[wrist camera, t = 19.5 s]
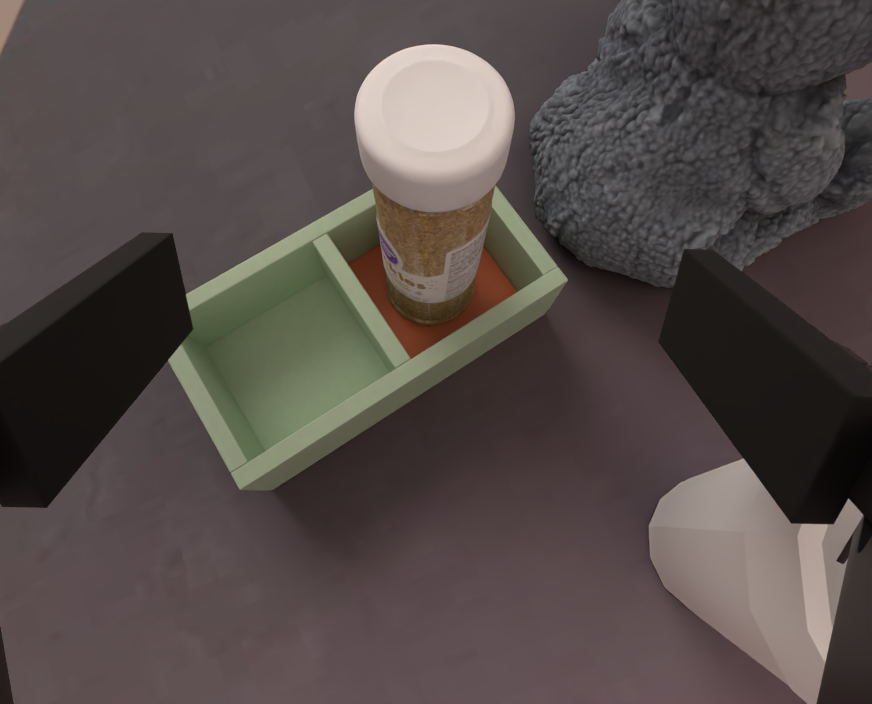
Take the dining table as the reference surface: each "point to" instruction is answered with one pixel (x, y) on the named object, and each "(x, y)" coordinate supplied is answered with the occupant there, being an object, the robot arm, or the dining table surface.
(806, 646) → the foam cup
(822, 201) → the koala plush
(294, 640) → the dining table surface
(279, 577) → the dining table surface
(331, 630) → the dining table surface
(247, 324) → the green divided tray
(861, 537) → the robot arm
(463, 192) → the sprinkles bottle
